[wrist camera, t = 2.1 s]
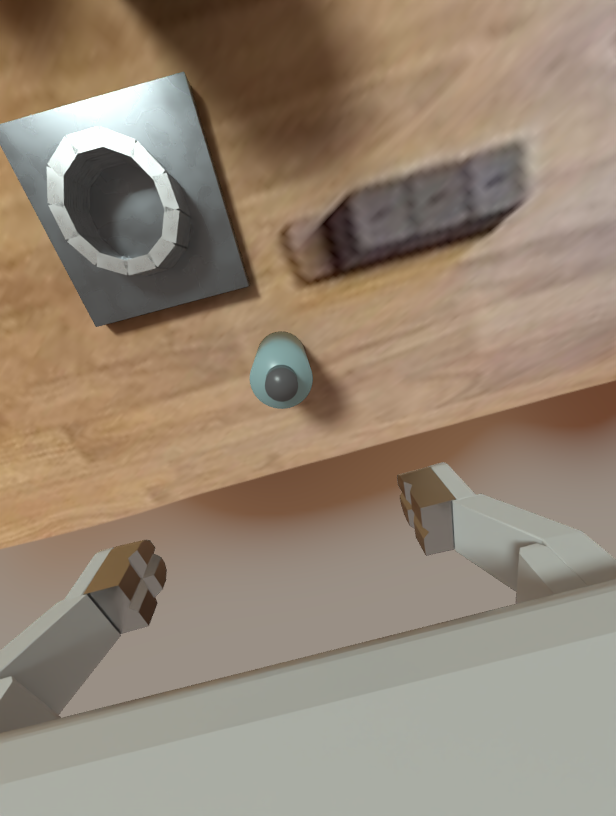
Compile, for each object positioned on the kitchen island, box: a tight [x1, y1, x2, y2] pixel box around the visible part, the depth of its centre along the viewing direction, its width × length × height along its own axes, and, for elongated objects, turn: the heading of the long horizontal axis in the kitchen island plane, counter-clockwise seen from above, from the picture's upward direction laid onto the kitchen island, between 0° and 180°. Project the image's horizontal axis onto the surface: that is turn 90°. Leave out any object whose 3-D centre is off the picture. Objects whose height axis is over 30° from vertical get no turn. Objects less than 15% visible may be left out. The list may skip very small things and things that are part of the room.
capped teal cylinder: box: [250, 332, 313, 409], centre depth 26 cm, size 5×5×10 cm
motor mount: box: [0, 72, 250, 327], centre depth 23 cm, size 14×14×4 cm
